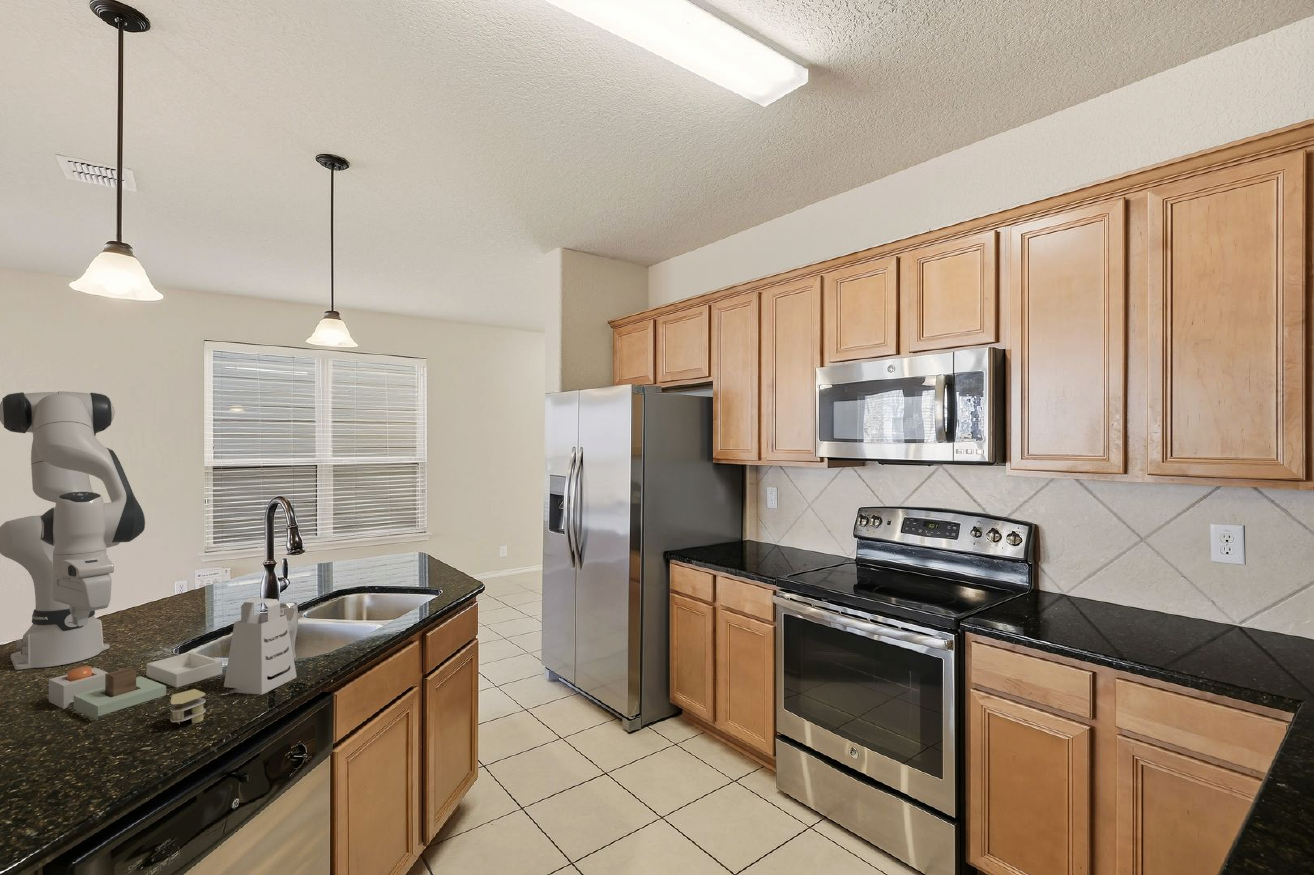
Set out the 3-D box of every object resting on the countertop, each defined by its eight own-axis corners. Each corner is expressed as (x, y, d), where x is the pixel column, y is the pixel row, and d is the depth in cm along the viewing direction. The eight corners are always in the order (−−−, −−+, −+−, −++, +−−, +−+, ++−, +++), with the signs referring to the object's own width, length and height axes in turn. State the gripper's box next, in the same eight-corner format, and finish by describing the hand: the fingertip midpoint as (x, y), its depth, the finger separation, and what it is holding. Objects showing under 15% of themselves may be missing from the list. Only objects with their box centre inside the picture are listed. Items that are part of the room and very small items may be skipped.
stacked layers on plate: (152, 724, 126) (152, 697, 126) (204, 709, 133) (204, 683, 133) (166, 738, 120) (166, 710, 120) (220, 722, 127) (220, 695, 127)
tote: (146, 680, 148) (146, 663, 148) (191, 667, 157) (191, 651, 157) (176, 691, 141) (176, 674, 141) (222, 677, 150) (222, 661, 150)
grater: (260, 674, 152) (260, 594, 152) (296, 677, 150) (296, 596, 150) (222, 691, 141) (222, 605, 142) (261, 694, 140) (261, 607, 140)
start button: (64, 684, 137) (64, 671, 137) (87, 678, 141) (87, 665, 141) (71, 687, 135) (71, 674, 135) (95, 681, 139) (95, 668, 139)
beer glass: (304, 659, 162) (304, 602, 162) (280, 668, 156) (280, 609, 156) (285, 656, 165) (285, 600, 165) (260, 665, 158) (260, 607, 158)
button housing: (48, 701, 136) (48, 679, 136) (94, 688, 143) (94, 667, 143) (63, 708, 132) (63, 685, 132) (110, 695, 139) (110, 673, 139)
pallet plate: (73, 709, 132) (73, 695, 132) (140, 689, 143) (140, 676, 143) (97, 720, 127) (97, 706, 127) (166, 699, 137) (166, 685, 137)
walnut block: (105, 701, 134) (105, 673, 134) (127, 694, 138) (127, 667, 138) (113, 704, 132) (113, 677, 132) (136, 697, 136) (136, 670, 136)
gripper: (42, 562, 140) (42, 622, 140) (81, 571, 130) (81, 635, 130) (78, 557, 146) (78, 615, 146) (117, 565, 136) (117, 627, 136)
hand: (80, 624), depth 138 cm, fingers closed
